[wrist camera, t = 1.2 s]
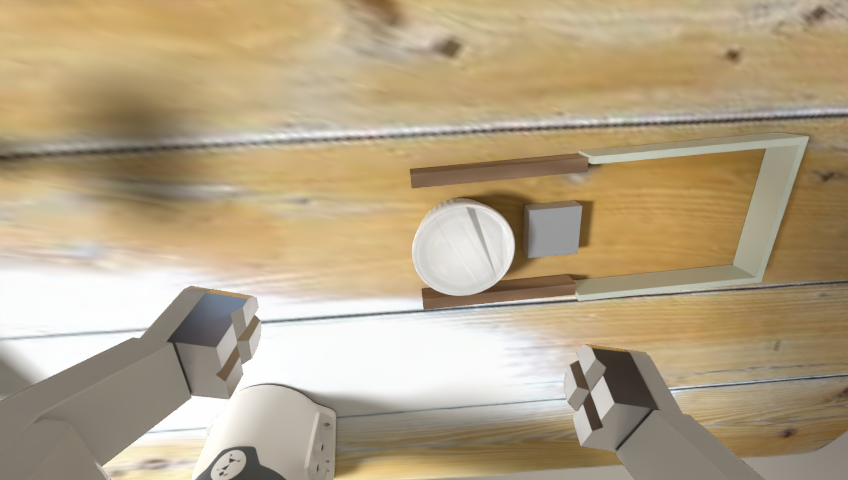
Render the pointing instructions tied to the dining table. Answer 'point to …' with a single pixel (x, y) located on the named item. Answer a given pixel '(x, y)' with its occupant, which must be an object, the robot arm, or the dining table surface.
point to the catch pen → (758, 225)
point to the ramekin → (463, 247)
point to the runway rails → (490, 172)
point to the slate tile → (551, 228)
